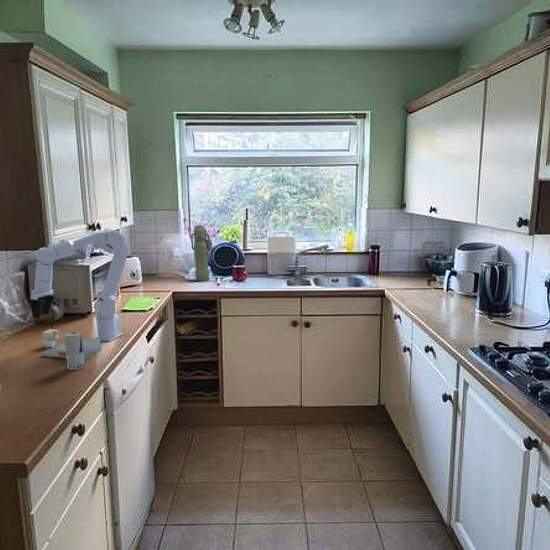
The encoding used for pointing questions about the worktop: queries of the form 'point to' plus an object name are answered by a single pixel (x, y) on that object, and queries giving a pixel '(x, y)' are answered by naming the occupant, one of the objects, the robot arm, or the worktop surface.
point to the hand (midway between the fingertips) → (40, 315)
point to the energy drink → (74, 350)
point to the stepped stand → (88, 345)
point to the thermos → (201, 253)
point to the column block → (50, 338)
